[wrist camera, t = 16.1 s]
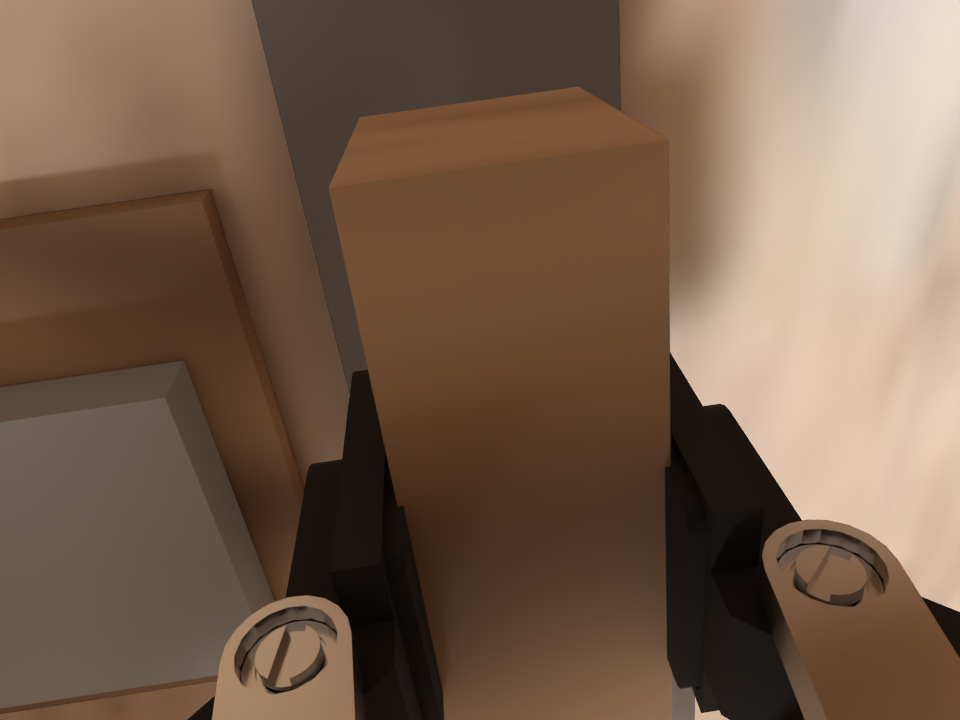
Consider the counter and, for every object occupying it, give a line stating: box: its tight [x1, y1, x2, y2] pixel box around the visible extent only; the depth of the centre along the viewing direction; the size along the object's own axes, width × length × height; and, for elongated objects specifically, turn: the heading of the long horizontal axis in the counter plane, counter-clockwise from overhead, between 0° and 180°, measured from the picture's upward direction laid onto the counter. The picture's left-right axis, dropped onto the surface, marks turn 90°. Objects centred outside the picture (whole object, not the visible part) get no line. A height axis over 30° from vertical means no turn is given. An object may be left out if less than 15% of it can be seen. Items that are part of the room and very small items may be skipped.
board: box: [0, 190, 304, 714], centre depth 20 cm, size 15×11×1 cm
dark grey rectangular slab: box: [252, 0, 621, 393], centre depth 18 cm, size 16×7×1 cm, turn 7°
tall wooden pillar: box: [329, 87, 695, 720], centre depth 11 cm, size 14×6×4 cm, turn 7°
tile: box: [0, 361, 275, 708], centre depth 19 cm, size 2×8×9 cm
